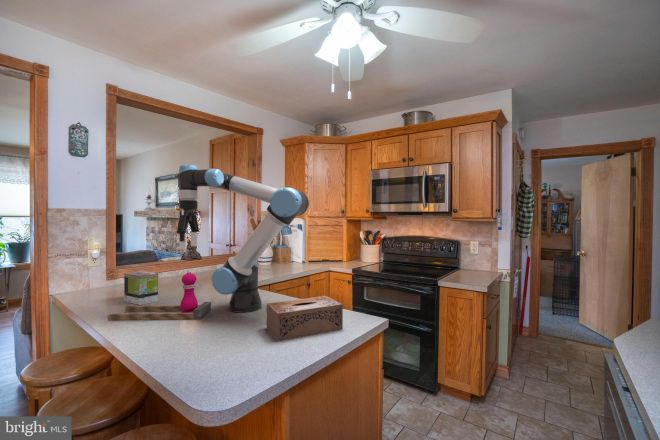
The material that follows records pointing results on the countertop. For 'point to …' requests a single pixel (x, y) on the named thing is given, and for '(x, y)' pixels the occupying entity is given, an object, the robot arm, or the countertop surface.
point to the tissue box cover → (304, 317)
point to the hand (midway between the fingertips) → (188, 247)
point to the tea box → (141, 287)
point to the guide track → (197, 314)
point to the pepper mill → (189, 293)
